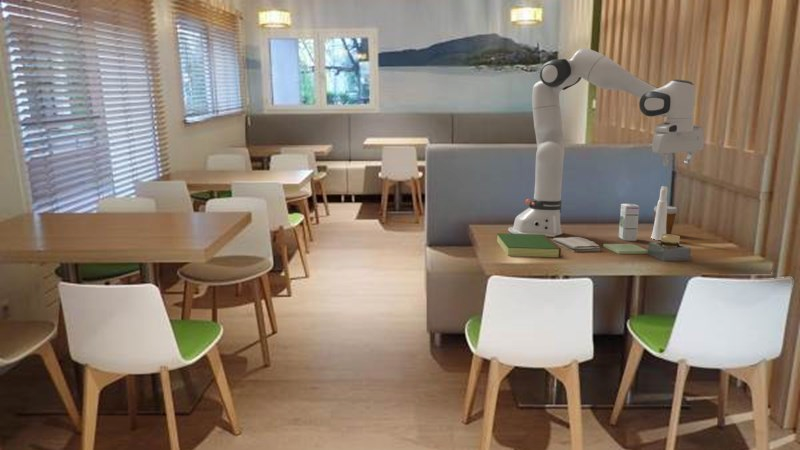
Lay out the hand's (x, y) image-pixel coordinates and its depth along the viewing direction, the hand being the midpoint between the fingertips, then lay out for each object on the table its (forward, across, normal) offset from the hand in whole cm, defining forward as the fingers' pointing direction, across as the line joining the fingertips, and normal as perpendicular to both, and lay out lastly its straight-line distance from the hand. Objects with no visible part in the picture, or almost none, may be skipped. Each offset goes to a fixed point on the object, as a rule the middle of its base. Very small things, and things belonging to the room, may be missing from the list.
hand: (676, 164), depth 215 cm
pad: (+32, +14, -8) cm, 36 cm away
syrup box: (+34, 0, -24) cm, 41 cm away
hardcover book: (+30, +51, -17) cm, 62 cm away
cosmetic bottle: (+34, -13, -22) cm, 43 cm away
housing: (+32, +7, +6) cm, 34 cm away
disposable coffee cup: (+35, -23, -30) cm, 52 cm away
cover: (+32, +7, +6) cm, 34 cm away
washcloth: (+32, +30, -16) cm, 47 cm away
